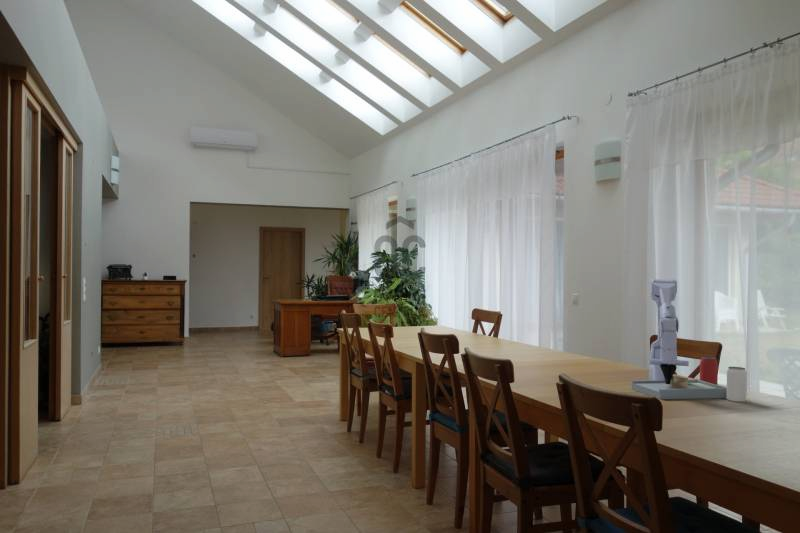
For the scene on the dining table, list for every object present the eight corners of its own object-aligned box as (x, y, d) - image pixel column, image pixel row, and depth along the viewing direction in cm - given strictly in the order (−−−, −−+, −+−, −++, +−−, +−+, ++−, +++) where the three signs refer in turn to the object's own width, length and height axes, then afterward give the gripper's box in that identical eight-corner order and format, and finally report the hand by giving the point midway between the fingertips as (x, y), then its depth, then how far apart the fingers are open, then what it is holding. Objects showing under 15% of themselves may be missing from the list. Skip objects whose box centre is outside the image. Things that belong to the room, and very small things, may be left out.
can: (741, 399, 231) (742, 366, 231) (749, 402, 225) (750, 369, 225) (723, 398, 232) (724, 366, 232) (730, 401, 225) (731, 368, 225)
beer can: (695, 385, 257) (696, 356, 257) (707, 384, 260) (707, 356, 260) (709, 388, 251) (710, 359, 251) (721, 387, 254) (721, 358, 254)
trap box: (631, 389, 246) (631, 380, 246) (697, 388, 252) (697, 379, 252) (660, 399, 228) (660, 389, 228) (730, 397, 233) (730, 388, 233)
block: (673, 387, 237) (674, 377, 237) (670, 385, 242) (670, 375, 242) (687, 388, 237) (687, 378, 237) (683, 386, 242) (683, 375, 242)
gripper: (651, 349, 237) (650, 384, 237) (691, 350, 235) (690, 386, 235) (646, 347, 244) (646, 381, 244) (685, 348, 242) (685, 383, 242)
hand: (667, 384), depth 240 cm, fingers closed
